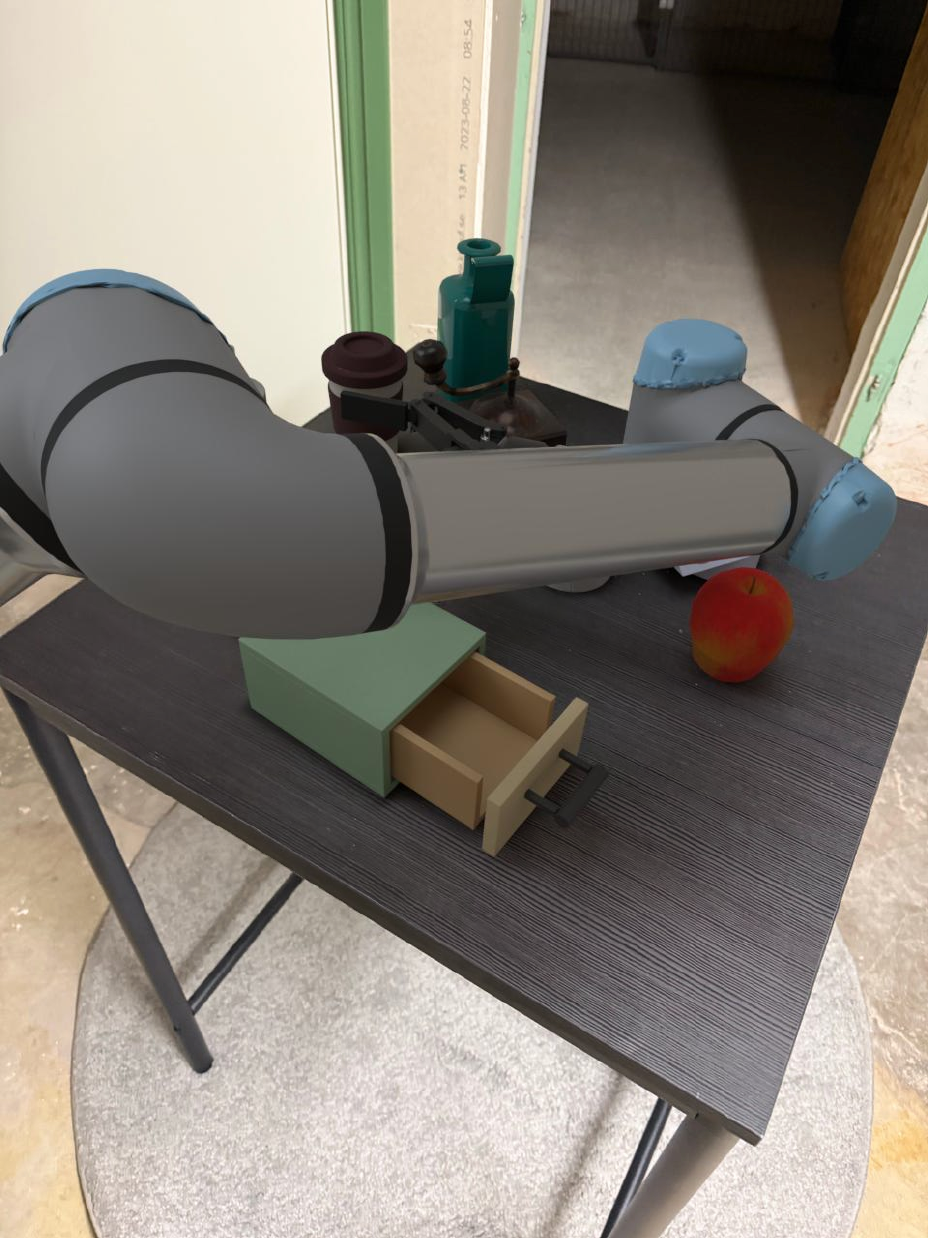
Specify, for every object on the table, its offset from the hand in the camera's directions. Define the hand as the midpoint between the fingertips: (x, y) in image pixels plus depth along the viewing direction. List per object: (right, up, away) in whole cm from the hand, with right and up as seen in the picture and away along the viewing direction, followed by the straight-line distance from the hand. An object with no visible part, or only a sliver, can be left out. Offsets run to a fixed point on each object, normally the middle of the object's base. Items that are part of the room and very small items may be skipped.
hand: (312, 440), depth 78 cm
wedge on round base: (+40, -10, +19) cm, 45 cm away
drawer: (+16, -29, -5) cm, 33 cm away
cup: (+25, -10, +17) cm, 32 cm away
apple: (+39, -21, +7) cm, 45 cm away
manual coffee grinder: (+16, 0, +27) cm, 32 cm away
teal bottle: (+15, +13, +41) cm, 45 cm away
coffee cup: (+2, +4, +31) cm, 31 cm away
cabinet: (+5, -24, +1) cm, 24 cm away
